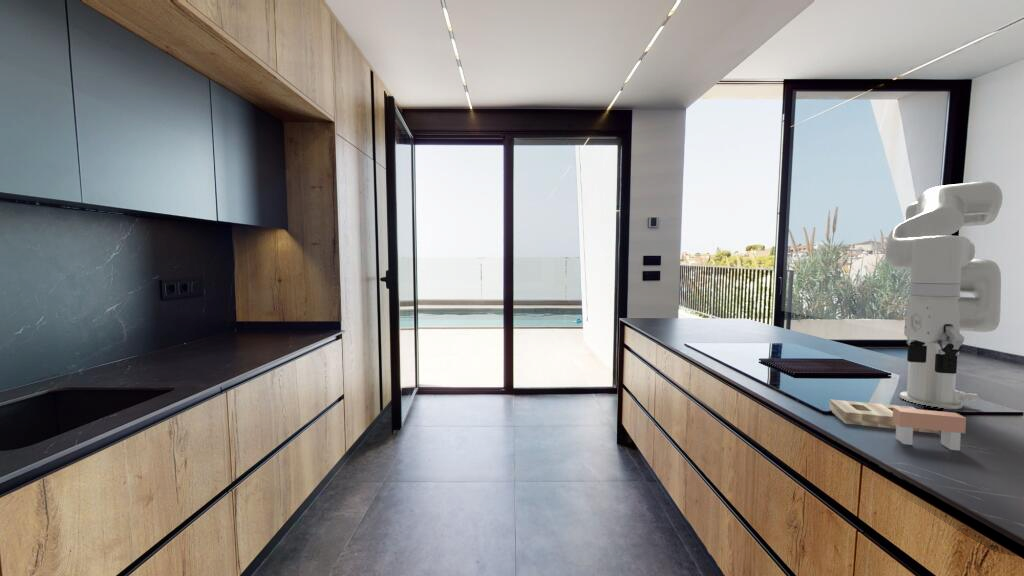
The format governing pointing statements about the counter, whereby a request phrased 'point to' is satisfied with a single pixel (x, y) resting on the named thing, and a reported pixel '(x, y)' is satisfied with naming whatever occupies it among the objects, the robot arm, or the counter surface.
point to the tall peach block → (929, 425)
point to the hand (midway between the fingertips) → (930, 367)
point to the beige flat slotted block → (867, 414)
